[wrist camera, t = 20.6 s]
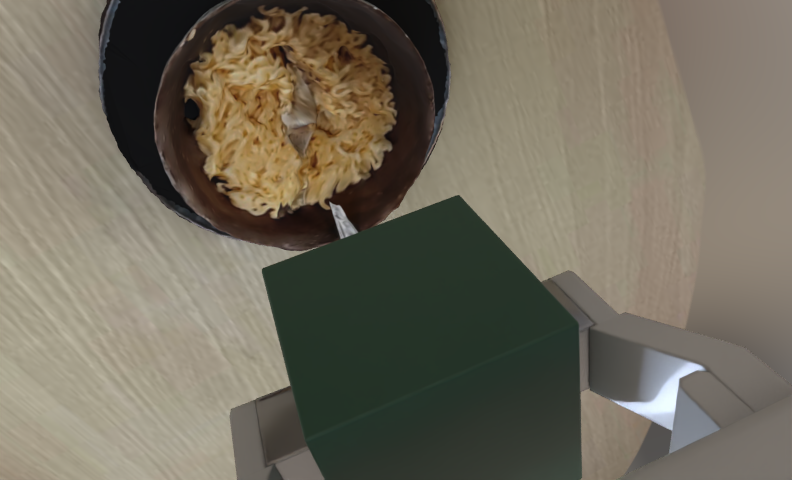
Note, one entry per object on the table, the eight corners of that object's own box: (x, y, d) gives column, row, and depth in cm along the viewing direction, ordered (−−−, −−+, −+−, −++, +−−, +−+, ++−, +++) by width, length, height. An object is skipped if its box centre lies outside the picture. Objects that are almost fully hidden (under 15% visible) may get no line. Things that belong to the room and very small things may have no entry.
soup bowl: (462, -76, 25) (556, -62, 19) (409, 240, 32) (464, 320, 27) (72, -135, 19) (32, -141, 13) (123, 258, 27) (111, 363, 21)
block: (458, 193, 12) (580, 321, 9) (482, 335, 15) (583, 479, 11) (260, 268, 12) (303, 440, 8) (321, 403, 14) (374, 580, 11)
